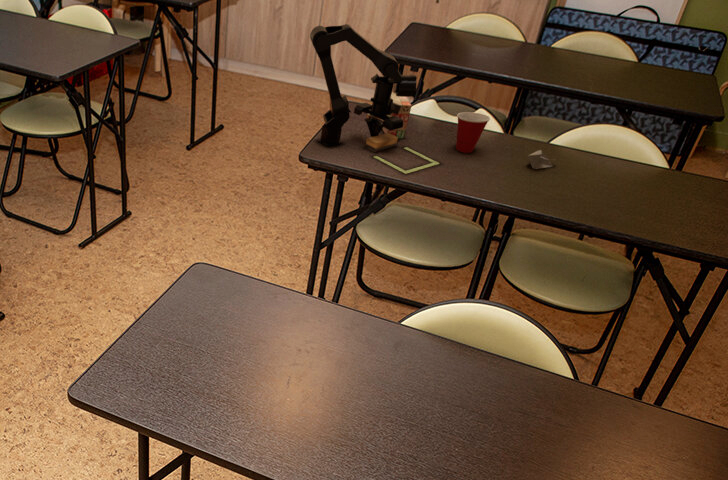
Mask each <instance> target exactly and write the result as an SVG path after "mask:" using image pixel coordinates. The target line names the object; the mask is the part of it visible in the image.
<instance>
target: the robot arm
mask: <svg viewBox="0 0 728 480" xmlns="http://www.w3.org/2000/svg"><path fill="white" fill-rule="evenodd" d="M309 39H310V42H311V44H312V46H313V48H314V50H315V53H316V54H317V58H319V62H320V66H321V69H322V73H323V76H324V81H325V84H326V88H327V92H328V95H329V110H328V111H326V112H324V114H323V115H322V118H323V121H324V124H322V127H321V134H320V138H317V140H316V141H317V143H320V144H321V145H324V146H326V147H328V148H331V147H335V146H338V145H339V146H340V145H342V144H343V141H341V138H342V137H341V135H342V131H343V130H342V128H343V127H344V124H346V123H347V122H348V121H349V119H350V113H352V110H351V108H350V105H349V100H348V97H347V96H346V95H347V94H346V95H345V94H344V95H343V96H342V94H341V93H342V92H341V91H340V86H339V81H338V78H337V74H336V70H335V67H334V63H333V59H332V58H333V57H332V46H334V45H337V44H339V43H342V42H347V43H348V44H350V46H352V47H353V48H355V50H357V51H358V52H360V53H361V54H362V55H363V56H364V57H365V58H366V59H368V60H369V61H370V62H372V64H373V65H374V66H375V68H376V69H377V70H378V71H379V73H380V74H381V75H379V74H378V73H376V74H375V75H372V76H371V77H370V81H371V83H372V84H375V88H374V94H373V97H370V102H372V103H368V102H363V103H358V104H356V105H355V107H354V110H353V113H354V114H355V115H357V116H361V115H362V114H363V113H364V114H365V115H366V118H364V121H365V123H366V125H367V128H368V132H369V135H370V137H374V136H377V135H380V133H381V131H382V130H383V127H384V128H386V129H388V130H395V129H399V128H402V127H403V123H404V121H403V119H401V118H399V117H396V116H393V117H389V116H387V115H392V113H394V114H396V115H398V113H399V111H400V109H401V105H398V104H396V103H394V102H393V99H391V94H392V92H393V93H396V96H398V97H407V98H414V97H415V96H416V94H417V89H418V88H417V79H418V77H417V75H416V74H409V75H403V74H401V73H400V71H399V69H400V64H399V62H398V61H397V60H396V58H395V57H394V55H392V54H390V53H388V52H386V51H384V50H381V49H379V48H378V47H376V46H374V44H373V43H371V42H370V41H368V39H366V38H365V37H364V36H363V35H361V34H360V33H359V32H358V31H356V30H355V29H354V28H353V27H352V26H351V25H350V24H341V25H328V26H323V25H317V26H314V28H313V29H312V30H311V32H310V33H309Z"/></svg>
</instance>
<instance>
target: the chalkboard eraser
mask: <svg viewBox="0 0 728 480" xmlns="http://www.w3.org/2000/svg"><path fill="white" fill-rule="evenodd" d="M398 140H399V138H398V137H396V136H394V135H392V134H390V133H381V134H379V135H377V136H374V137H371V136H370V137H366V142H365V149H367V150H368V151H370V152H372V153H378V152H381V151H384V150H388V149H391V148H395V147H397V143H398Z"/></svg>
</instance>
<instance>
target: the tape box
mask: <svg viewBox="0 0 728 480" xmlns="http://www.w3.org/2000/svg"><path fill="white" fill-rule="evenodd" d="M403 149H404V150H406V151H408V152H410V153H412V154H414V155H416V156H417V157H419V158H421V159H424V160H426V161H427V162H430V163H427V164H424V165H421V166H417V167H415V168H410V169H408V170H406V169H405V170H404V169H403V168H401V167H399V166H397V165H395V164H394V163H392V162H389V161H388V160H386V159H383V158H381V157H380V156H378V155H374V156H373V158H374V159H376V160H377V161H380V162H382V163H384V164H385V165H387V166H389V167H390V168H393V169H395V170H397V171H399V172H401V173H403V174H404V175H407V174H411V173H414V172H418V171H421V170H425V169H428V168H431V167H433V166H438V165H440V162H438V161H436V160H433V159H432V158H430V157H428V156H425V155H424V154H421V153H420V152H417V151H415V150H414V149H411V148H409V147H407V146H406V147H403Z"/></svg>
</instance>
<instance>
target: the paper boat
mask: <svg viewBox="0 0 728 480" xmlns="http://www.w3.org/2000/svg"><path fill="white" fill-rule="evenodd" d="M527 159H528V161H529V163H530V166H531V168H532V169H534V170H538V169H544V168H551V167H553V164H552V163H551V160H550V159H549V158H548V157H547V156H546V154H545V153H544V151H543V150H542V149H539V150H536V151H534V152H532V153H530V154H528V155H527ZM552 161H555V162H558V159H555V158H553V159H552Z"/></svg>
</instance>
